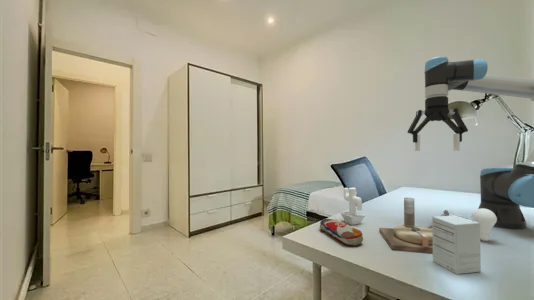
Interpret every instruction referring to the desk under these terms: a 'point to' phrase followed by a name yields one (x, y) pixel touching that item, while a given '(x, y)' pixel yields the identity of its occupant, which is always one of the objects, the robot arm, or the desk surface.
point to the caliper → (441, 215)
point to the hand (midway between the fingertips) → (436, 150)
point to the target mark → (424, 241)
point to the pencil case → (342, 231)
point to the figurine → (352, 207)
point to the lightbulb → (484, 222)
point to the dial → (411, 226)
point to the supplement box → (456, 244)
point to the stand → (403, 242)
